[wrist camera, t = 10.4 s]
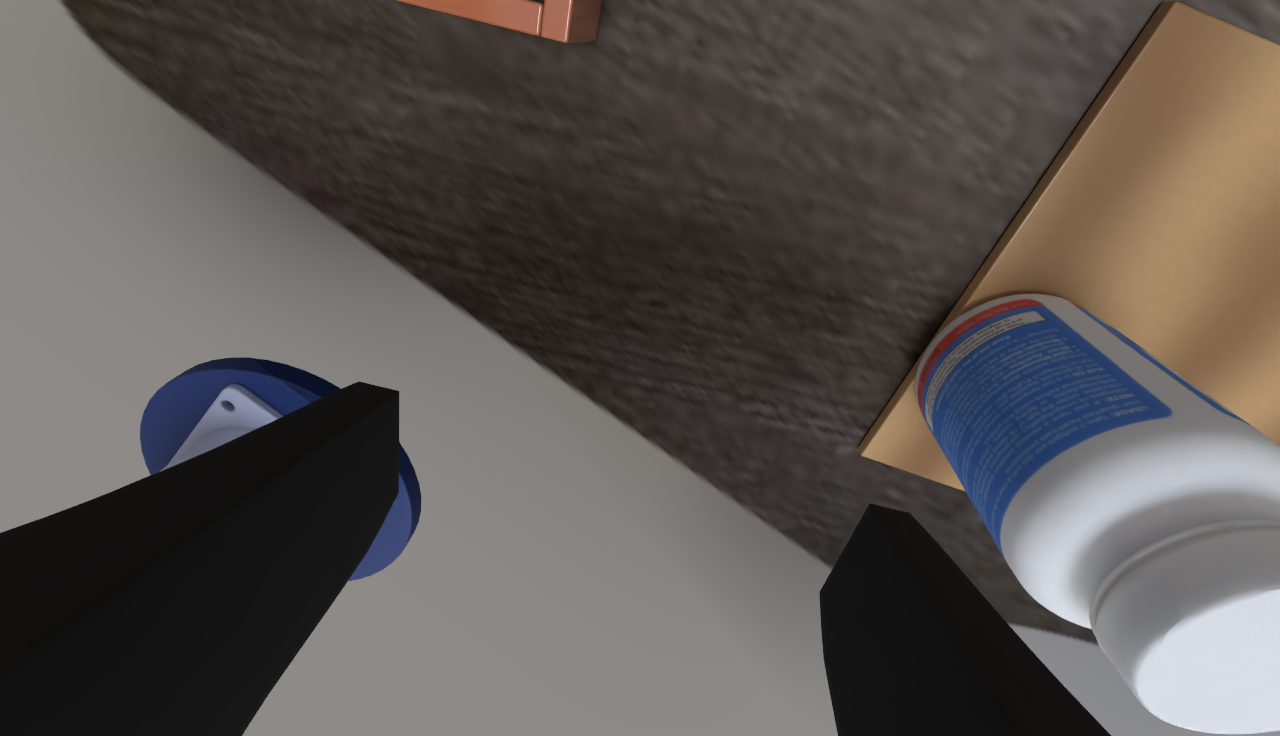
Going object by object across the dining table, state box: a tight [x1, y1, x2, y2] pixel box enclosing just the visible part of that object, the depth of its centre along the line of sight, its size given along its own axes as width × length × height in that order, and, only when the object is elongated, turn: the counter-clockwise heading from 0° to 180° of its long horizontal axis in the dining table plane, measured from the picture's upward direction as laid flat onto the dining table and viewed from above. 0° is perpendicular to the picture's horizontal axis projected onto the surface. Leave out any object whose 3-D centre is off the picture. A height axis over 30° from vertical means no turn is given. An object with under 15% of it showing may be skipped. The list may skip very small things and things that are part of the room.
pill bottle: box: [915, 294, 1280, 734], centre depth 14 cm, size 6×5×10 cm
